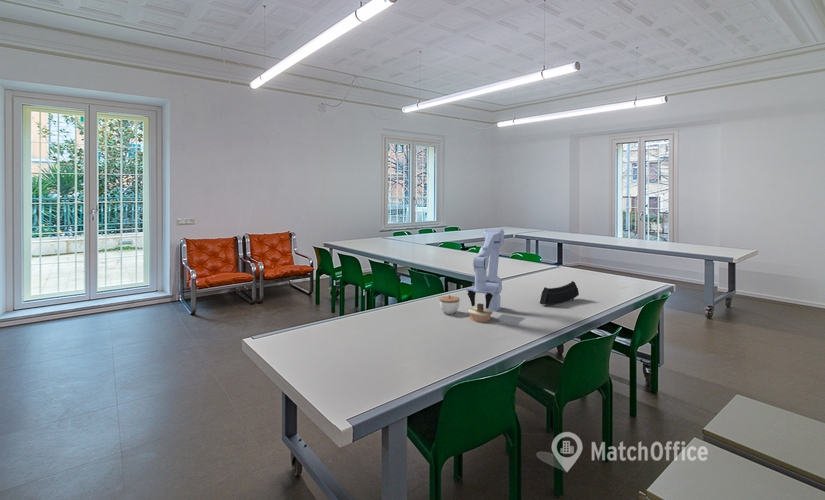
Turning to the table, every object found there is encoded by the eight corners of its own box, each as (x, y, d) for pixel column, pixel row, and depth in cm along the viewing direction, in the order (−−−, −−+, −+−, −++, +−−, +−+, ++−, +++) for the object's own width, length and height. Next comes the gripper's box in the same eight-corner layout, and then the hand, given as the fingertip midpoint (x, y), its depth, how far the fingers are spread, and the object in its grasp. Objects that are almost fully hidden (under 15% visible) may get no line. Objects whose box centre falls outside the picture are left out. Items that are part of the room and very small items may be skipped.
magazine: (541, 291, 236) (575, 270, 250) (536, 290, 239) (570, 270, 253) (546, 319, 241) (579, 297, 255) (541, 317, 244) (575, 296, 258)
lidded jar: (463, 313, 228) (463, 295, 226) (447, 316, 222) (447, 298, 220) (450, 308, 236) (450, 292, 235) (435, 311, 230) (435, 294, 229)
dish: (475, 315, 223) (475, 308, 223) (493, 318, 218) (493, 311, 217) (466, 320, 215) (466, 313, 214) (485, 323, 209) (485, 316, 209)
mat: (502, 315, 223) (502, 314, 223) (525, 318, 217) (525, 317, 217) (493, 320, 213) (493, 320, 213) (517, 324, 207) (517, 324, 207)
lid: (474, 308, 224) (474, 300, 224) (495, 311, 218) (496, 303, 217) (464, 313, 214) (464, 305, 214) (486, 317, 208) (486, 308, 207)
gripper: (463, 280, 214) (463, 306, 216) (491, 283, 206) (490, 310, 208) (469, 277, 220) (469, 303, 222) (496, 280, 212) (496, 307, 214)
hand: (480, 307), depth 215 cm, fingers open, 7 cm apart
